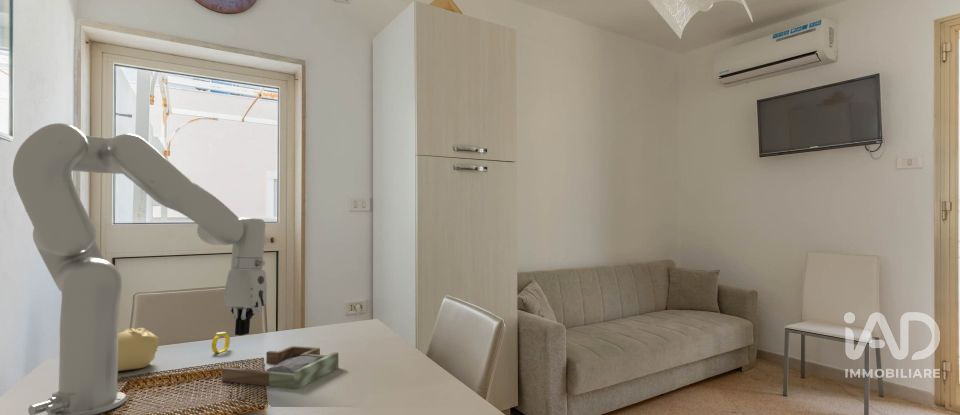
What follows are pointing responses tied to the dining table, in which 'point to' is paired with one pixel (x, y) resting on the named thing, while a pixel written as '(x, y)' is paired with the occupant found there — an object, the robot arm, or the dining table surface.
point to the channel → (285, 379)
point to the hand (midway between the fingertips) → (242, 334)
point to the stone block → (293, 364)
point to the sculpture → (136, 348)
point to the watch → (227, 342)
